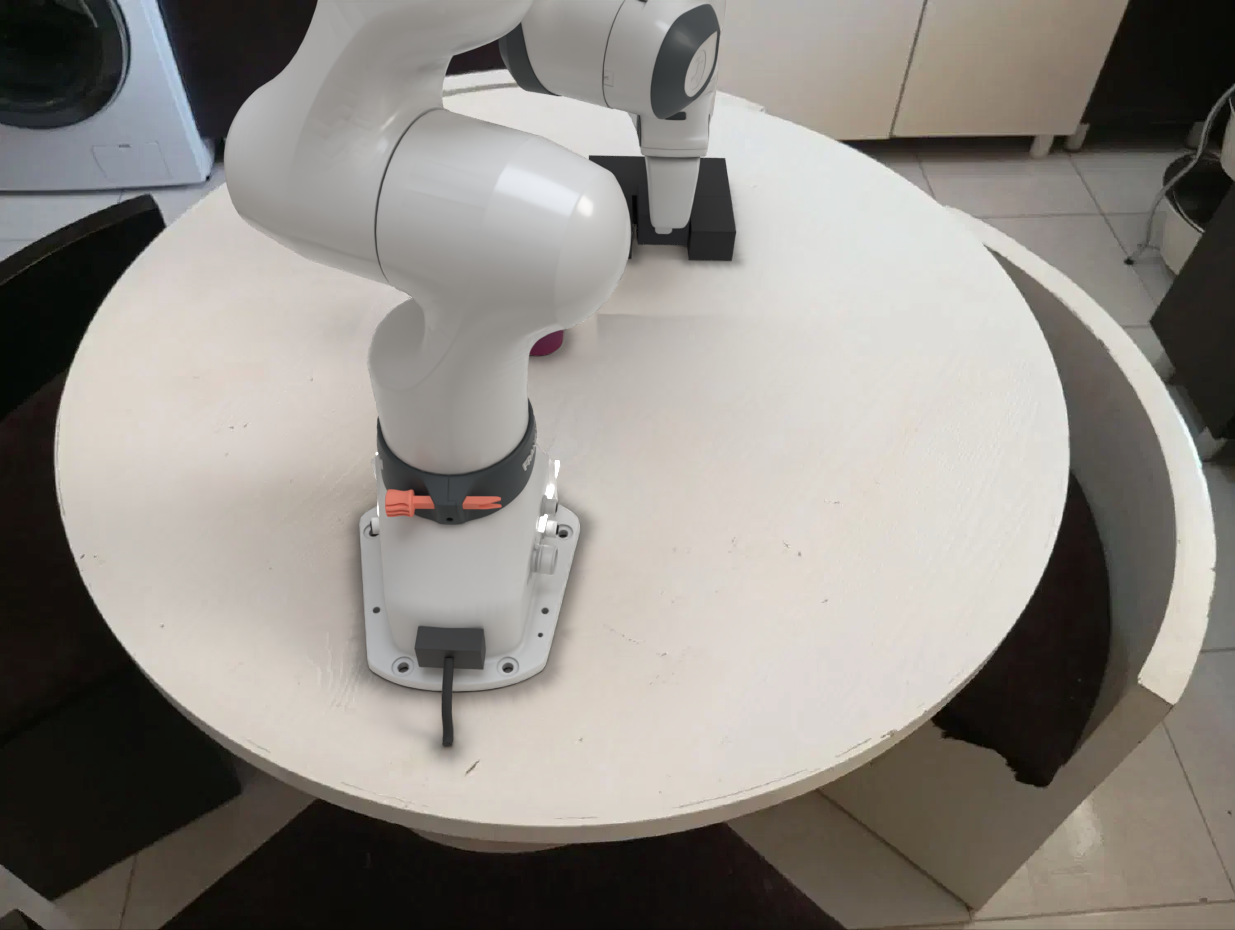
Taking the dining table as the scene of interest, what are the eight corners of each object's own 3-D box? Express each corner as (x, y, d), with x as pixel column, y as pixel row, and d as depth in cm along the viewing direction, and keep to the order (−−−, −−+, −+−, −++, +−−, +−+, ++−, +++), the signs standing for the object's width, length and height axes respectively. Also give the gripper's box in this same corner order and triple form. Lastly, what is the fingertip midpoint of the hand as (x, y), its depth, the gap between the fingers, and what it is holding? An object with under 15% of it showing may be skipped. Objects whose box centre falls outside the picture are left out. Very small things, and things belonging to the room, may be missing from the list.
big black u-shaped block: (731, 261, 110) (736, 231, 107) (587, 258, 110) (588, 229, 107) (721, 186, 119) (725, 157, 116) (588, 184, 119) (588, 155, 116)
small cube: (687, 246, 109) (690, 215, 106) (637, 245, 109) (639, 214, 106) (684, 215, 113) (687, 185, 110) (635, 214, 112) (637, 184, 109)
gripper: (636, 41, 105) (630, 156, 115) (642, 151, 92) (635, 269, 102) (695, 42, 105) (684, 157, 115) (710, 152, 92) (696, 270, 102)
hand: (661, 210), depth 109 cm, fingers closed on small cube, 5 cm apart
